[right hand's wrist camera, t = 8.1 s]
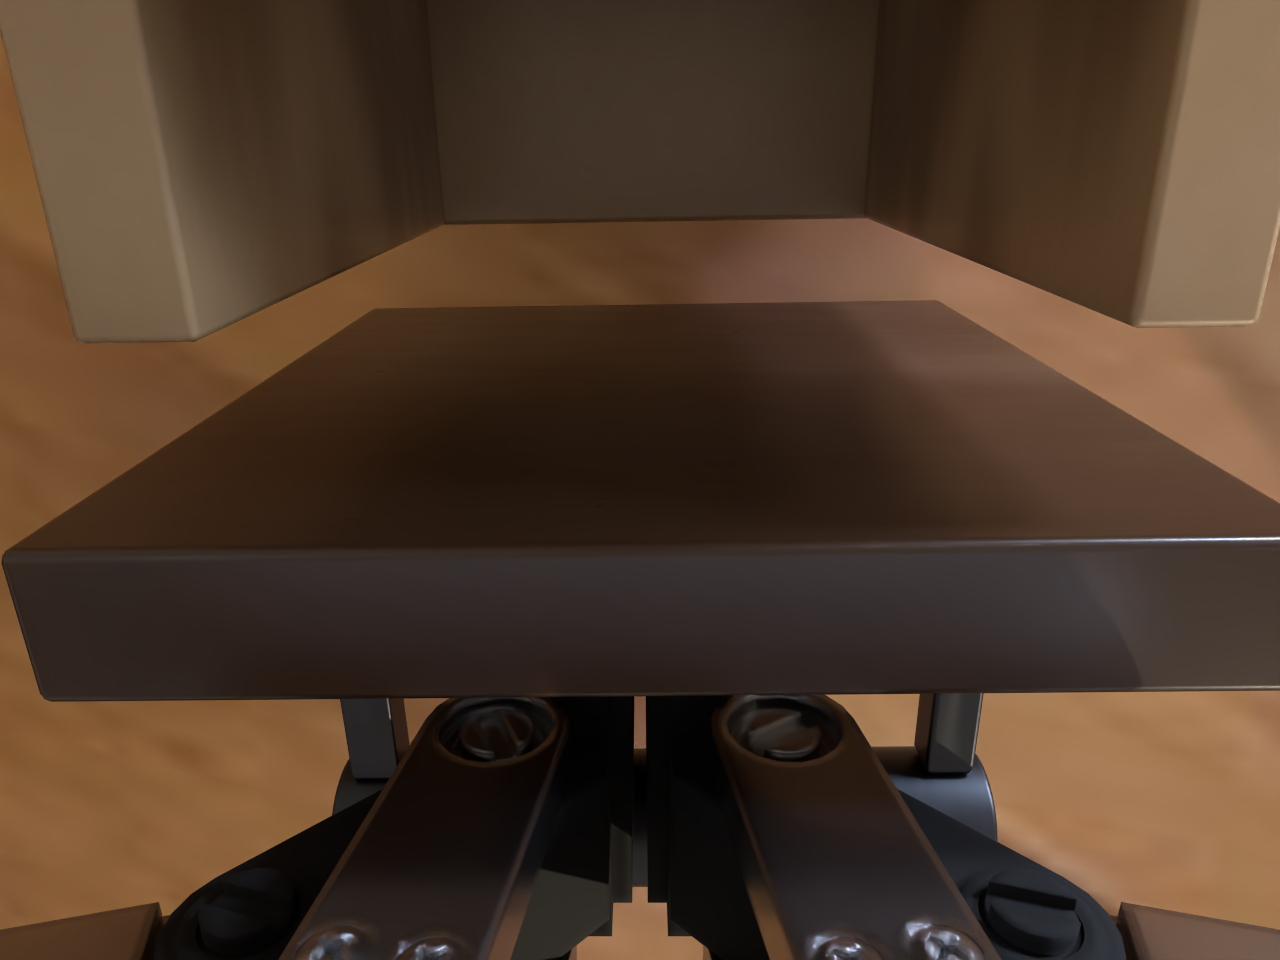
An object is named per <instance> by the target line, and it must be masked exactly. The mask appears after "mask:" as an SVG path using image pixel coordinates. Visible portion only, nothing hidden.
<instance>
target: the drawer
mask: <svg viewBox="0 0 1280 960" xmlns="http://www.w3.org/2000/svg"><path fill="white" fill-rule="evenodd" d="M0 31H1V35H2V39H3V43H4V47H5V51H6V56H7V60H8V64H9V68H10V72H11V76H12V80H13V84H14V89H15V93H16V97H17V101H18V105H19V109H20V113H21V118H22V122H23V126H24V130H25V134H26V138H27V142H28V147H29V151H30V155H31V159H32V163H33V167H34V171H35V175H36V180H37V184H38V188H39V192H40V196H41V200H42V204H43V209H44V213H45V217H46V221H47V225H48V229H49V233H50V238H51V242H52V246H53V250H54V254H55V258H56V262H57V266H58V271H59V275H60V279H61V283H62V287H63V291H64V295H65V300H66V304H67V308H68V312H69V316H70V320H71V324H72V329H73V333H74V336H75V337H76V339H77V341H81V342H84V343H139V342H194V341H196V340H198V339H201V338H203V337H205V336H207V335H209V334H211V333H213V332H215V331H218V330H220V329H222V328H224V327H226V326H228V325H230V324H233V323H235V322H237V321H239V320H241V319H243V318H245V317H247V316H250V315H252V314H254V313H256V312H258V311H260V310H262V309H264V308H267V307H269V306H271V305H273V304H275V303H277V302H279V301H282V300H284V299H286V298H288V297H290V296H292V295H294V294H296V293H299V292H301V291H303V290H305V289H307V288H309V287H311V286H314V285H316V284H318V283H320V282H322V281H324V280H326V279H328V278H331V277H333V276H335V275H337V274H339V273H341V272H343V271H346V270H348V269H350V268H352V267H354V266H356V265H358V264H360V263H363V262H365V261H367V260H369V259H371V258H373V257H375V256H377V255H380V254H382V253H384V252H386V251H388V250H390V249H392V248H395V247H397V246H399V245H401V244H403V243H405V242H407V241H409V240H412V239H414V238H416V237H418V236H420V235H422V234H424V233H427V232H429V231H431V230H433V229H435V228H437V227H439V226H441V225H461V224H524V223H586V222H649V221H712V220H774V219H837V218H868V219H871V220H873V221H876V222H878V223H881V224H883V225H885V226H888V227H890V228H893V229H895V230H898V231H900V232H903V233H905V234H908V235H910V236H912V237H915V238H917V239H920V240H922V241H925V242H927V243H930V244H932V245H935V246H937V247H939V248H942V249H944V250H947V251H949V252H952V253H954V254H957V255H959V256H962V257H964V258H966V259H969V260H971V261H974V262H976V263H979V264H981V265H984V266H986V267H989V268H991V269H993V270H996V271H998V272H1001V273H1003V274H1006V275H1008V276H1011V277H1013V278H1016V279H1018V280H1020V281H1023V282H1025V283H1028V284H1030V285H1033V286H1035V287H1038V288H1040V289H1043V290H1045V291H1047V292H1050V293H1052V294H1055V295H1057V296H1060V297H1062V298H1065V299H1067V300H1070V301H1072V302H1074V303H1077V304H1079V305H1082V306H1084V307H1087V308H1089V309H1092V310H1094V311H1097V312H1099V313H1101V314H1104V315H1106V316H1109V317H1111V318H1114V319H1116V320H1119V321H1121V322H1123V323H1126V324H1128V325H1131V326H1133V327H1136V328H1169V327H1239V326H1247V325H1251V324H1254V323H1256V321H1257V320H1258V318H1259V316H1260V311H1261V307H1262V303H1263V298H1264V294H1265V290H1266V285H1267V281H1268V276H1269V272H1270V268H1271V263H1272V259H1273V255H1274V250H1275V246H1276V241H1277V237H1278V233H1279V228H1280V0H0ZM2 567H3V570H4V573H5V577H6V580H7V583H8V587H9V590H10V594H11V597H12V600H13V604H14V607H15V610H16V614H17V617H18V620H19V624H20V627H21V630H22V634H23V637H24V641H25V644H26V647H27V651H28V654H29V657H30V661H31V664H32V667H33V671H34V674H35V678H36V681H37V684H38V688H39V691H40V694H41V695H42V696H43V698H44V699H46V700H49V701H163V700H274V699H340V701H341V707H342V713H343V720H344V726H345V732H346V739H347V745H348V751H349V760H348V761H347V763H346V765H345V767H344V769H343V772H342V774H341V777H340V780H339V783H338V787H337V791H336V795H335V800H334V805H333V812H332V816H333V815H334V814H336V813H338V812H340V811H342V810H344V809H346V808H348V807H349V806H351V805H353V804H355V803H357V802H359V801H361V800H363V799H364V798H366V797H368V796H370V795H372V794H374V793H376V792H378V791H379V790H381V789H383V788H384V787H385V785H386V784H387V782H388V780H389V779H390V777H391V775H392V774H393V772H394V771H395V769H396V767H397V766H398V764H399V762H400V761H401V759H402V757H403V756H404V754H405V753H406V751H407V749H408V748H409V746H410V745H409V738H408V730H407V722H406V714H405V707H404V699H403V698H495V697H606V696H716V695H827V694H920V698H919V707H918V716H917V725H916V734H915V743H914V745H915V746H909V747H871V748H872V749H873V751H874V753H875V754H876V756H877V757H878V759H879V761H880V762H881V764H882V766H883V767H884V769H885V771H886V772H887V774H888V775H889V777H890V779H891V780H892V782H893V784H894V785H895V787H896V788H897V789H899V790H901V791H903V792H904V793H906V794H908V795H910V796H912V797H914V798H916V799H917V800H919V801H921V802H923V803H925V804H927V805H929V806H931V807H932V808H934V809H936V810H938V811H940V812H942V813H944V814H946V815H947V816H949V817H951V818H953V819H955V820H957V821H959V822H961V823H962V824H964V825H966V826H968V827H970V828H972V829H974V830H976V831H977V832H979V833H981V834H983V835H985V836H987V837H989V838H991V839H992V840H994V841H996V842H997V822H996V813H995V807H994V801H993V796H992V792H991V788H990V784H989V781H988V778H987V775H986V773H985V770H984V767H983V765H982V763H981V761H980V759H979V758H978V756H977V755H976V754H975V750H976V743H977V736H978V728H979V721H980V714H981V707H982V700H983V693H1049V692H1159V691H1270V690H1280V503H1278V502H1277V501H1275V500H1273V499H1272V498H1270V497H1268V496H1266V495H1265V494H1263V493H1261V492H1260V491H1258V490H1256V489H1255V488H1253V487H1251V486H1250V485H1248V484H1246V483H1245V482H1243V481H1241V480H1239V479H1238V478H1236V477H1234V476H1233V475H1231V474H1229V473H1228V472H1226V471H1224V470H1223V469H1221V468H1219V467H1218V466H1216V465H1214V464H1213V463H1211V462H1209V461H1207V460H1206V459H1204V458H1202V457H1201V456H1199V455H1197V454H1196V453H1194V452H1192V451H1191V450H1189V449H1187V448H1186V447H1184V446H1182V445H1180V444H1179V443H1177V442H1175V441H1174V440H1172V439H1170V438H1169V437H1167V436H1165V435H1164V434H1162V433H1160V432H1159V431H1157V430H1155V429H1153V428H1152V427H1150V426H1148V425H1147V424H1145V423H1143V422H1142V421H1140V420H1138V419H1137V418H1135V417H1133V416H1132V415H1130V414H1128V413H1127V412H1125V411H1123V410H1121V409H1120V408H1118V407H1116V406H1115V405H1113V404H1111V403H1110V402H1108V401H1106V400H1105V399H1103V398H1101V397H1100V396H1098V395H1096V394H1094V393H1093V392H1091V391H1089V390H1088V389H1086V388H1084V387H1083V386H1081V385H1079V384H1078V383H1076V382H1074V381H1073V380H1071V379H1069V378H1067V377H1066V376H1064V375H1062V374H1061V373H1059V372H1057V371H1056V370H1054V369H1052V368H1051V367H1049V366H1047V365H1046V364H1044V363H1042V362H1040V361H1039V360H1037V359H1035V358H1034V357H1032V356H1030V355H1029V354H1027V353H1025V352H1024V351H1022V350H1020V349H1019V348H1017V347H1015V346H1014V345H1012V344H1010V343H1008V342H1007V341H1005V340H1003V339H1002V338H1000V337H998V336H997V335H995V334H993V333H992V332H990V331H988V330H987V329H985V328H983V327H981V326H980V325H978V324H976V323H975V322H973V321H971V320H970V319H968V318H966V317H965V316H963V315H961V314H960V313H958V312H956V311H954V310H953V309H951V308H949V307H948V306H946V305H944V304H943V303H941V302H939V301H937V300H930V301H863V302H795V303H727V304H659V305H591V306H523V307H456V308H388V309H373V310H371V311H370V312H368V313H367V314H365V315H364V316H362V317H361V318H359V319H358V320H356V321H354V322H353V323H351V324H350V325H348V326H347V327H345V328H344V329H342V330H341V331H339V332H338V333H336V334H335V335H333V336H332V337H330V338H329V339H327V340H326V341H324V342H323V343H321V344H320V345H318V346H316V347H315V348H313V349H312V350H310V351H309V352H307V353H306V354H304V355H303V356H301V357H300V358H298V359H297V360H295V361H294V362H292V363H291V364H289V365H288V366H286V367H285V368H283V369H281V370H280V371H278V372H277V373H275V374H274V375H272V376H271V377H269V378H268V379H266V380H265V381H263V382H262V383H260V384H259V385H257V386H256V387H254V388H253V389H251V390H250V391H248V392H246V393H245V394H243V395H242V396H240V397H239V398H237V399H236V400H234V401H233V402H231V403H230V404H228V405H227V406H225V407H224V408H222V409H221V410H219V411H218V412H216V413H215V414H213V415H211V416H210V417H208V418H207V419H205V420H204V421H202V422H201V423H199V424H198V425H196V426H195V427H193V428H192V429H190V430H189V431H187V432H186V433H184V434H183V435H181V436H180V437H178V438H177V439H175V440H173V441H172V442H170V443H169V444H167V445H166V446H164V447H163V448H161V449H160V450H158V451H157V452H155V453H154V454H152V455H151V456H149V457H148V458H146V459H145V460H143V461H142V462H140V463H138V464H137V465H135V466H134V467H132V468H131V469H129V470H128V471H126V472H125V473H123V474H122V475H120V476H119V477H117V478H116V479H114V480H113V481H111V482H110V483H108V484H107V485H105V486H103V487H102V488H100V489H99V490H97V491H96V492H94V493H93V494H91V495H90V496H88V497H87V498H85V499H84V500H82V501H81V502H79V503H78V504H76V505H75V506H73V507H72V508H70V509H68V510H67V511H65V512H64V513H62V514H61V515H59V516H58V517H56V518H55V519H53V520H52V521H50V522H49V523H47V524H46V525H44V526H43V527H41V528H40V529H38V530H37V531H35V532H34V533H32V534H30V535H29V536H27V537H26V538H24V539H23V540H21V541H20V542H18V543H17V544H15V545H14V546H12V547H11V548H9V549H8V550H6V551H5V552H4V554H3V556H2ZM632 887H648V862H647V766H646V749H634V768H633V865H632Z"/></svg>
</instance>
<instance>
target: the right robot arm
mask: <svg viewBox="0 0 1280 960" xmlns="http://www.w3.org/2000/svg"><path fill="white" fill-rule="evenodd" d="M646 766H647V862H648V903H667V917H668V936H693V937H694V938H695V939H696V940H698V941H699V942H700V943H702V944H703V960H1280V930H1278V929H1272V928H1267V927H1261V926H1255V925H1249V924H1244V923H1238V922H1232V921H1227V920H1221V919H1215V918H1209V917H1204V916H1198V915H1192V914H1187V913H1181V912H1175V911H1169V910H1164V909H1158V908H1152V907H1146V906H1141V905H1135V904H1129V903H1124V902H1121V905H1120V909H1119V913H1118V917H1117V916H1112V915H1109V914H1108V913H1107V912H1106V911H1105V910H1104V909H1103V908H1102V907H1101V906H1100V905H1099V904H1098V903H1097V902H1096V901H1095V900H1094V899H1093V898H1092V897H1091V896H1090V895H1089V894H1088V893H1087V892H1085V891H1083V890H1082V889H1080V888H1079V887H1077V886H1076V885H1074V884H1073V883H1071V882H1070V881H1068V880H1067V879H1065V878H1064V877H1062V876H1060V875H1058V874H1056V873H1054V872H1052V871H1051V870H1049V869H1047V868H1045V867H1043V866H1041V865H1039V864H1037V863H1036V862H1034V861H1032V860H1030V859H1028V858H1026V857H1024V856H1022V855H1021V854H1019V853H1017V852H1015V851H1013V850H1011V849H1009V848H1007V847H1006V846H1004V845H1002V844H1000V843H998V842H996V841H994V840H992V839H991V838H989V837H987V836H985V835H983V834H981V833H979V832H977V831H976V830H974V829H972V828H970V827H968V826H966V825H964V824H962V823H961V822H959V821H957V820H955V819H953V818H951V817H949V816H947V815H946V814H944V813H942V812H940V811H938V810H936V809H934V808H932V807H931V806H929V805H927V804H925V803H923V802H921V801H919V800H917V799H916V798H914V797H912V796H910V795H908V794H906V793H904V792H903V791H901V790H899V789H897V788H896V787H895V785H894V784H893V782H892V780H891V779H890V777H889V775H888V774H887V772H886V771H885V769H884V767H883V766H882V764H881V762H880V761H879V759H878V757H877V756H876V754H875V753H874V751H873V749H872V748H871V746H870V744H869V743H868V741H867V740H866V738H865V736H864V735H863V733H862V731H861V730H860V728H859V726H858V725H857V723H856V722H855V720H854V718H853V717H852V716H851V715H850V714H849V713H848V712H847V711H846V709H845V708H844V707H843V706H842V705H840V704H838V703H837V702H835V701H834V700H832V699H831V698H829V697H828V696H826V695H716V696H646ZM633 768H634V696H606V697H495V698H449V699H448V700H446V701H445V702H443V703H442V704H440V705H438V706H437V707H436V708H435V709H434V711H433V712H432V713H431V714H430V715H429V716H428V717H427V718H426V720H425V722H424V723H423V725H422V726H421V728H420V730H419V731H418V733H417V735H416V736H415V738H414V740H413V741H412V743H411V744H410V746H409V748H408V749H407V751H406V753H405V754H404V756H403V757H402V759H401V761H400V762H399V764H398V766H397V767H396V769H395V771H394V772H393V774H392V775H391V777H390V779H389V780H388V782H387V784H386V785H385V787H384V788H383V789H381V790H379V791H378V792H376V793H374V794H372V795H370V796H368V797H366V798H364V799H363V800H361V801H359V802H357V803H355V804H353V805H351V806H349V807H348V808H346V809H344V810H342V811H340V812H338V813H336V814H334V815H333V816H331V817H329V818H327V819H325V820H323V821H321V822H319V823H318V824H316V825H314V826H312V827H310V828H308V829H306V830H304V831H303V832H301V833H299V834H297V835H295V836H293V837H291V838H289V839H288V840H286V841H284V842H282V843H280V844H278V845H276V846H274V847H273V848H271V849H269V850H267V851H265V852H263V853H261V854H259V855H258V856H256V857H254V858H252V859H250V860H248V861H246V862H244V863H243V864H241V865H239V866H237V867H235V868H233V869H231V870H229V871H228V872H226V873H224V874H222V875H220V876H218V877H216V878H215V879H213V880H212V881H210V882H209V883H207V884H206V885H204V886H203V887H201V888H200V889H198V890H197V891H195V892H194V893H192V894H191V895H190V896H189V897H188V898H187V899H186V900H185V901H184V902H183V903H182V904H181V905H180V906H179V907H178V908H177V909H176V910H175V911H174V912H173V913H172V914H171V915H168V916H163V917H162V913H161V909H160V905H159V902H156V903H151V904H145V905H139V906H134V907H128V908H122V909H116V910H111V911H105V912H99V913H94V914H88V915H82V916H76V917H71V918H65V919H59V920H53V921H48V922H42V923H36V924H31V925H25V926H19V927H13V928H8V929H2V930H0V960H577V944H579V943H580V942H581V941H582V940H584V939H585V938H586V937H587V936H612V918H613V903H632V865H633Z"/></svg>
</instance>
